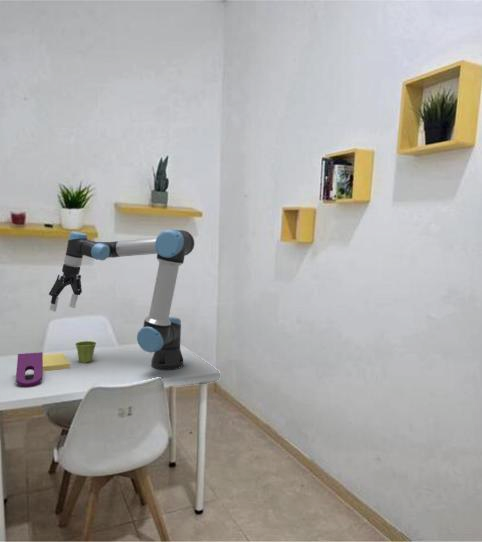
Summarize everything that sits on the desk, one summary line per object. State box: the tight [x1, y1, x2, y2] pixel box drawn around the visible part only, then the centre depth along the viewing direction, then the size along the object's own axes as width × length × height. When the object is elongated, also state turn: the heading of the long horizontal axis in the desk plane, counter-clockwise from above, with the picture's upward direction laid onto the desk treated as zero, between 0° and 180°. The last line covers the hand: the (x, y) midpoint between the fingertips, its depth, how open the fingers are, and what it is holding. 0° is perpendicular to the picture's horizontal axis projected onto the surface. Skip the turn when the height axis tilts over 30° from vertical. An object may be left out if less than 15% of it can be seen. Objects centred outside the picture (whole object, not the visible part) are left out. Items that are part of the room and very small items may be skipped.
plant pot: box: [75, 340, 97, 364], centre depth 202 cm, size 9×9×9 cm
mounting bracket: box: [15, 351, 44, 388], centre depth 174 cm, size 10×8×18 cm
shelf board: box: [43, 352, 71, 372], centre depth 196 cm, size 20×12×2 cm, turn 31°
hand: (62, 308), depth 197 cm, fingers open, 13 cm apart
